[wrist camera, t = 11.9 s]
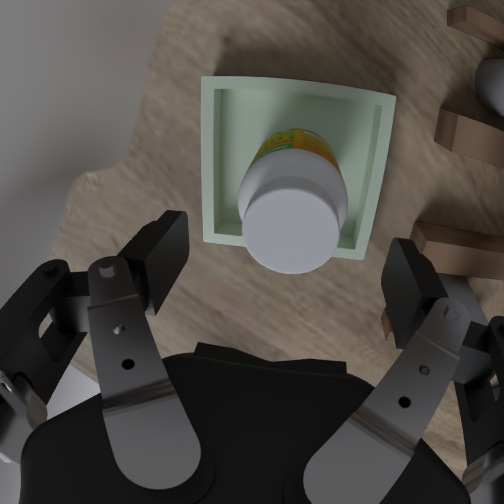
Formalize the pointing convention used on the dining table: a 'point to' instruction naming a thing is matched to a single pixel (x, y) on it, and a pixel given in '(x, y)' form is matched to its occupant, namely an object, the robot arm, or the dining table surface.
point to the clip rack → (475, 146)
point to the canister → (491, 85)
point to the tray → (288, 116)
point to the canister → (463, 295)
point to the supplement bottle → (293, 202)
